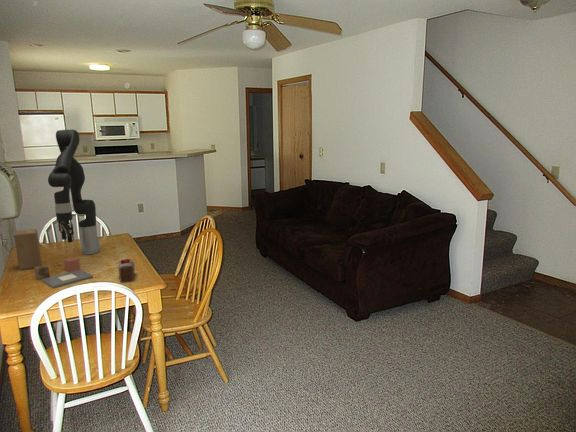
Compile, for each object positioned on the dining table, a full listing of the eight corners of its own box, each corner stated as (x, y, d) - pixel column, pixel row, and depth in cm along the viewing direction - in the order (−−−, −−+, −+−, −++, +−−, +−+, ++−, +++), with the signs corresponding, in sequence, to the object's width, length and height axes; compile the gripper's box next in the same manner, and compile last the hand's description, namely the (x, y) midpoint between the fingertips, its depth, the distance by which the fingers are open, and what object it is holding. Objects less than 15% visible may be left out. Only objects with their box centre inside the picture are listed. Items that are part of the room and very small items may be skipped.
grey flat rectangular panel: (80, 271, 222) (80, 269, 222) (93, 277, 212) (92, 275, 212) (42, 280, 208) (41, 278, 208) (53, 288, 198) (52, 286, 198)
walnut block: (46, 275, 216) (44, 264, 215) (49, 277, 213) (48, 266, 212) (35, 277, 213) (34, 266, 211) (39, 280, 210) (37, 269, 208)
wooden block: (19, 270, 224) (13, 234, 220) (21, 265, 233) (16, 230, 229) (40, 267, 229) (35, 232, 224) (41, 262, 237) (36, 228, 233)
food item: (118, 274, 217) (116, 256, 215) (134, 272, 220) (132, 254, 218) (119, 283, 205) (118, 264, 203) (136, 280, 208) (135, 262, 206)
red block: (75, 267, 228) (74, 257, 227) (79, 269, 225) (78, 259, 224) (65, 270, 224) (63, 259, 223) (69, 272, 221) (67, 261, 219)
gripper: (76, 211, 216) (79, 241, 219) (66, 208, 225) (69, 237, 228) (61, 214, 210) (64, 244, 214) (51, 210, 220) (54, 239, 223)
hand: (67, 240), depth 221 cm, fingers open, 8 cm apart
